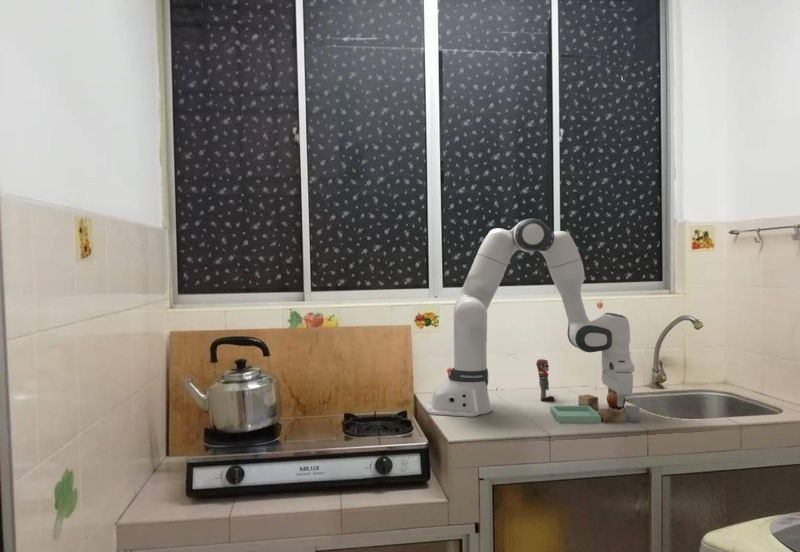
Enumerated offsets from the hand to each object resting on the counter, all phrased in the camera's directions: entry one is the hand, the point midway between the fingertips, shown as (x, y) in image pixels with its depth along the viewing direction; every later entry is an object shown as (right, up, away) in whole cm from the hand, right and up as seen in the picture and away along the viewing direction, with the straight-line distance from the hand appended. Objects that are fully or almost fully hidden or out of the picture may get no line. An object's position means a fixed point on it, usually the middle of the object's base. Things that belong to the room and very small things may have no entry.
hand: (616, 403), depth 180 cm
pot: (0, -3, 0) cm, 3 cm away
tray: (-15, -3, -5) cm, 16 cm away
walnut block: (-6, -4, -10) cm, 12 cm away
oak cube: (-8, -3, +5) cm, 9 cm away
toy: (-19, -3, +17) cm, 26 cm away
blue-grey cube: (+1, -3, -10) cm, 11 cm away
